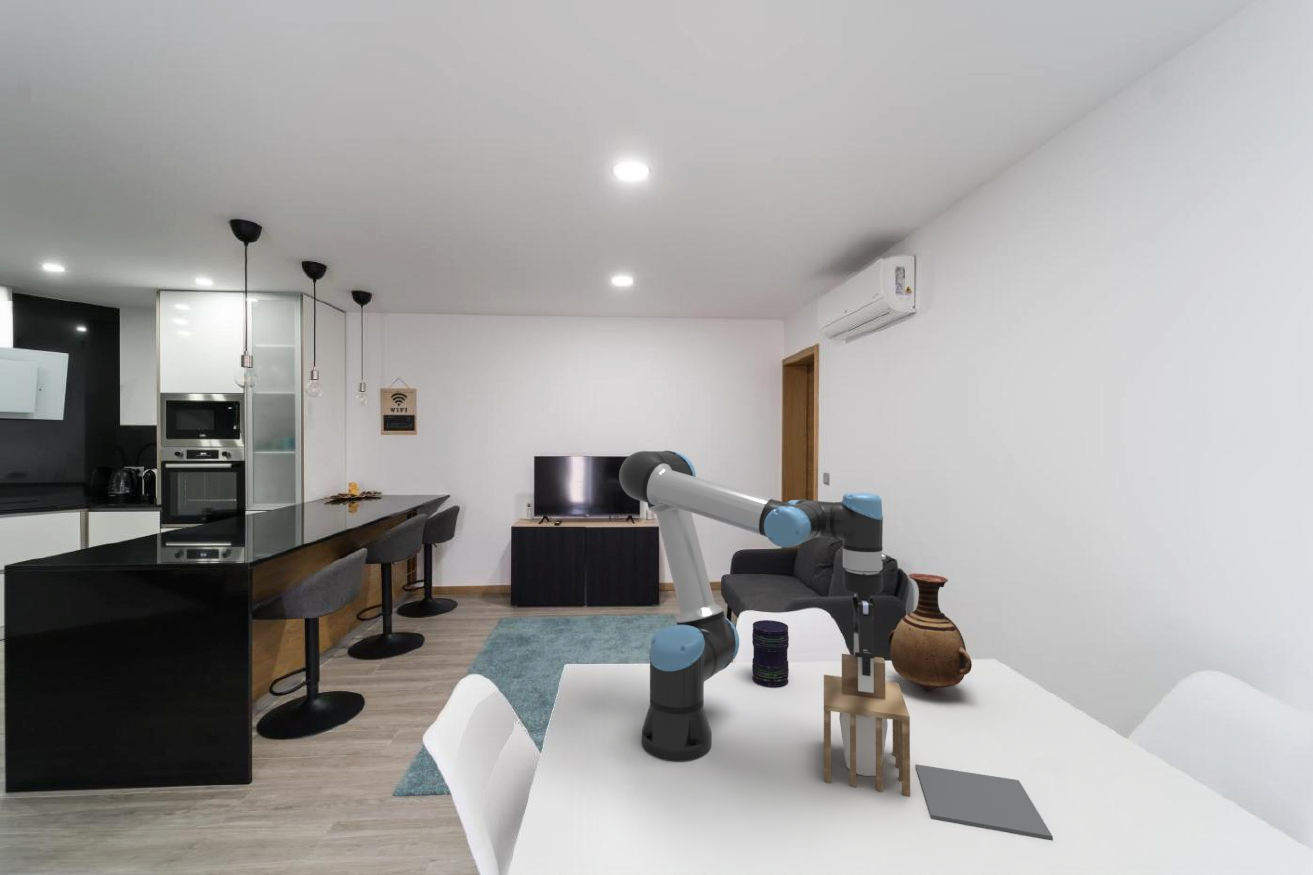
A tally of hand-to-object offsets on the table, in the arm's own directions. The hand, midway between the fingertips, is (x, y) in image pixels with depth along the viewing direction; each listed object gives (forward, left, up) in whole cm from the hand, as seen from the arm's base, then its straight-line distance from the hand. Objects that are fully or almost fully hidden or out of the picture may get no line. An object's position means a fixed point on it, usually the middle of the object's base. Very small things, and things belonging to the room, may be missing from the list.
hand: (863, 677), depth 110 cm
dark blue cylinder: (-21, +37, -18) cm, 46 cm away
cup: (0, 0, -18) cm, 18 cm away
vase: (+19, +43, -18) cm, 50 cm away
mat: (+19, -5, -18) cm, 26 cm away
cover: (0, 0, -18) cm, 18 cm away
